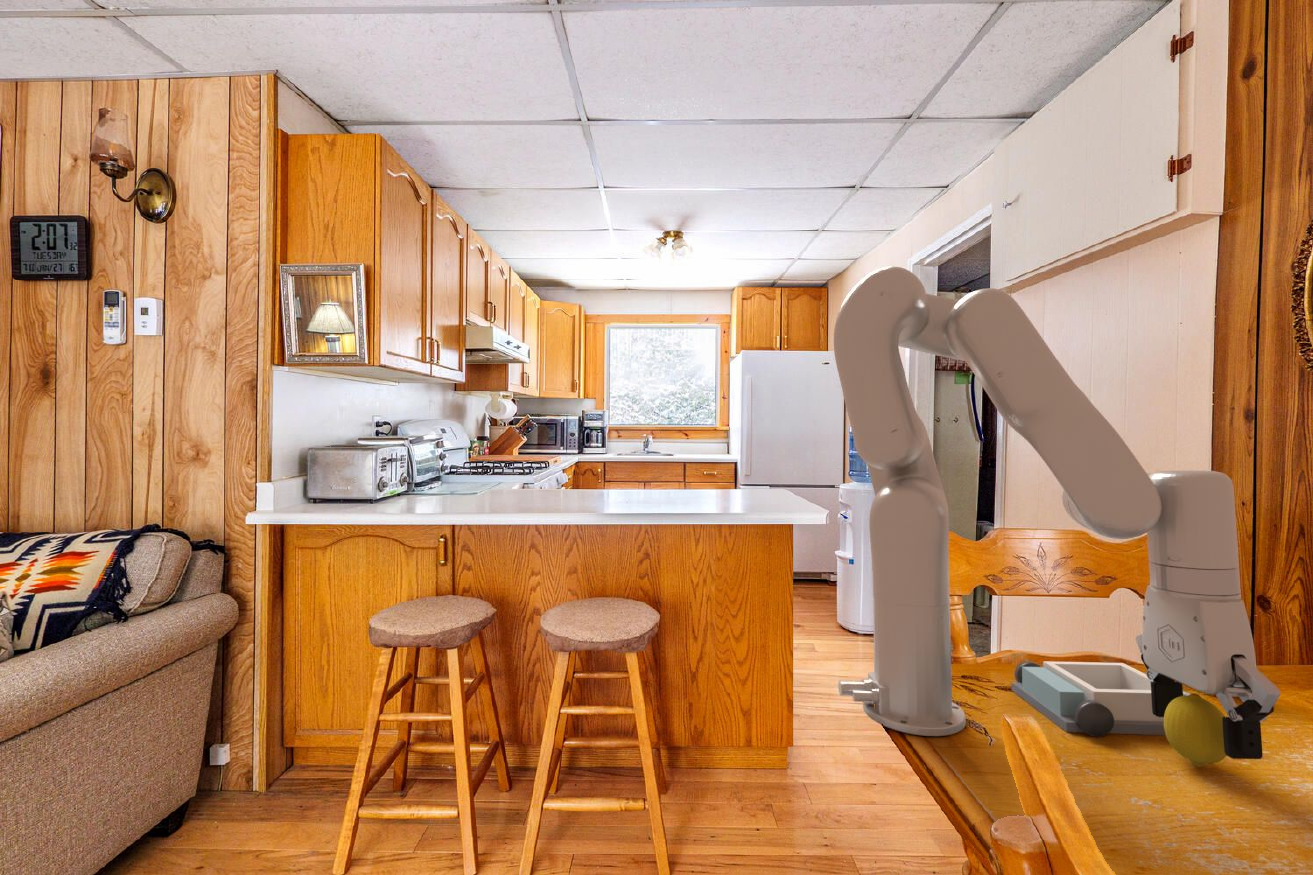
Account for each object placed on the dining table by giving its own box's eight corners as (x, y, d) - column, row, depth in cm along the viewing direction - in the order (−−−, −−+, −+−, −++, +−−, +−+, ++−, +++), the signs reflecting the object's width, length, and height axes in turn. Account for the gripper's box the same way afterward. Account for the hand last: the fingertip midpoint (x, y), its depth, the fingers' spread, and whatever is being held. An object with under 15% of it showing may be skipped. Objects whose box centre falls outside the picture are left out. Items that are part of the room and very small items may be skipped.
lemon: (1246, 782, 62) (1243, 706, 62) (1185, 777, 63) (1183, 702, 63) (1208, 756, 67) (1206, 686, 68) (1153, 751, 68) (1151, 682, 69)
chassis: (1071, 735, 72) (1070, 697, 72) (1007, 687, 87) (1007, 655, 88) (1236, 741, 71) (1235, 701, 71) (1142, 690, 86) (1141, 658, 86)
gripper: (1105, 566, 75) (1113, 703, 74) (1226, 598, 57) (1237, 776, 57) (1167, 566, 74) (1176, 703, 73) (1308, 598, 57) (1321, 777, 56)
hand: (1203, 735), depth 65 cm, fingers open, 9 cm apart
